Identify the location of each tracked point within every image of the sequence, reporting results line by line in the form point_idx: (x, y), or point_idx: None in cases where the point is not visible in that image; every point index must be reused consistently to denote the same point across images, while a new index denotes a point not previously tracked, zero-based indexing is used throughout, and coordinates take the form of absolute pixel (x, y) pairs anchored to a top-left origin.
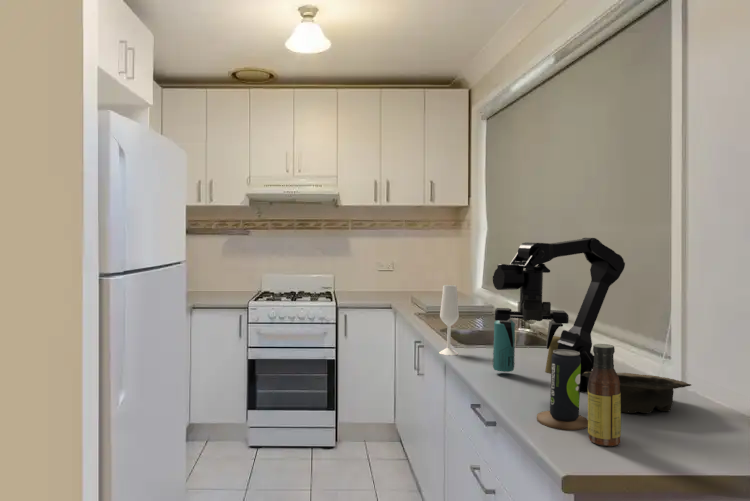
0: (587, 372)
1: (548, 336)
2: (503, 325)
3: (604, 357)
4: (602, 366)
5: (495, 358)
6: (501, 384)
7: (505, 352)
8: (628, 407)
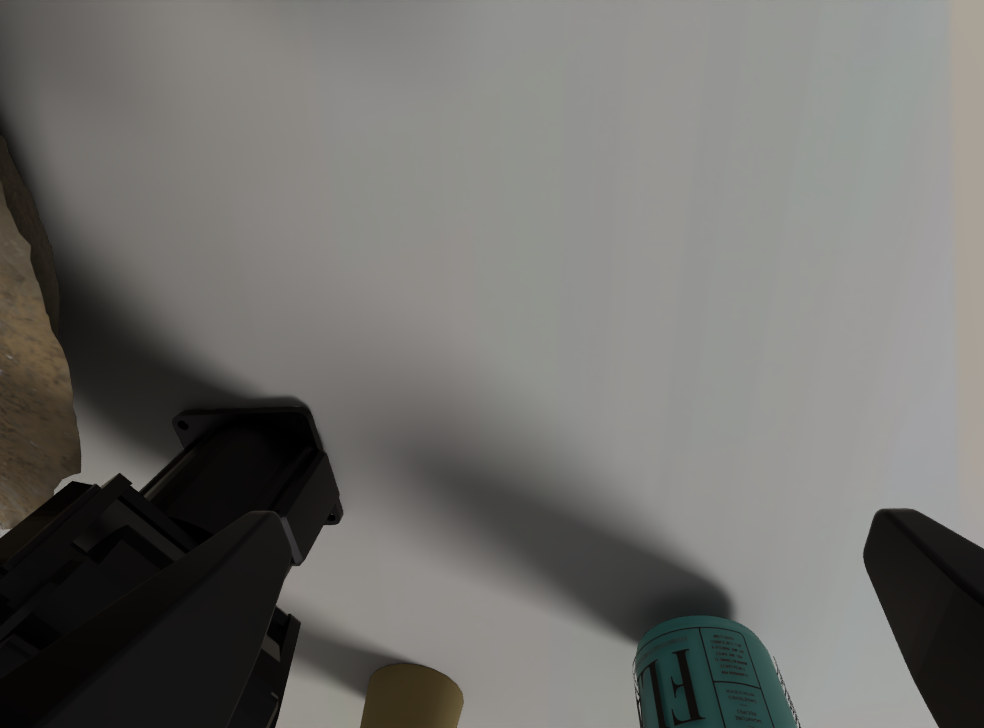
0: (47, 381)
1: (89, 726)
2: None
3: None
4: None
5: (789, 715)
6: (736, 426)
7: None
8: None
